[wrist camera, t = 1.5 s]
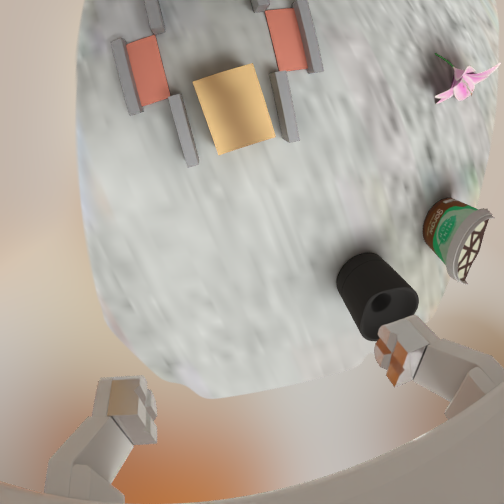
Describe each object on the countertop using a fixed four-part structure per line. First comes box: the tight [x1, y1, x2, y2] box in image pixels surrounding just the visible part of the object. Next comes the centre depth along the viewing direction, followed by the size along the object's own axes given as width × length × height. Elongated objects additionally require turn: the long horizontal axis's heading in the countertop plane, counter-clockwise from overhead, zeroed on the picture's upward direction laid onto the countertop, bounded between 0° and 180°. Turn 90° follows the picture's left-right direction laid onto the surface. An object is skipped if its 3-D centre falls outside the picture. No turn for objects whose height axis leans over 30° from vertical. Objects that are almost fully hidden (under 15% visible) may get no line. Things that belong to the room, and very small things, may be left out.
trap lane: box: [111, 0, 324, 167], centre depth 25 cm, size 22×26×5 cm
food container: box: [423, 198, 494, 284], centre depth 38 cm, size 12×6×10 cm, turn 174°
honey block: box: [193, 63, 276, 155], centre depth 29 cm, size 6×8×5 cm
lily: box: [435, 53, 500, 104], centre depth 28 cm, size 12×12×10 cm
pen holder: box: [337, 253, 419, 341], centre depth 41 cm, size 9×9×10 cm
